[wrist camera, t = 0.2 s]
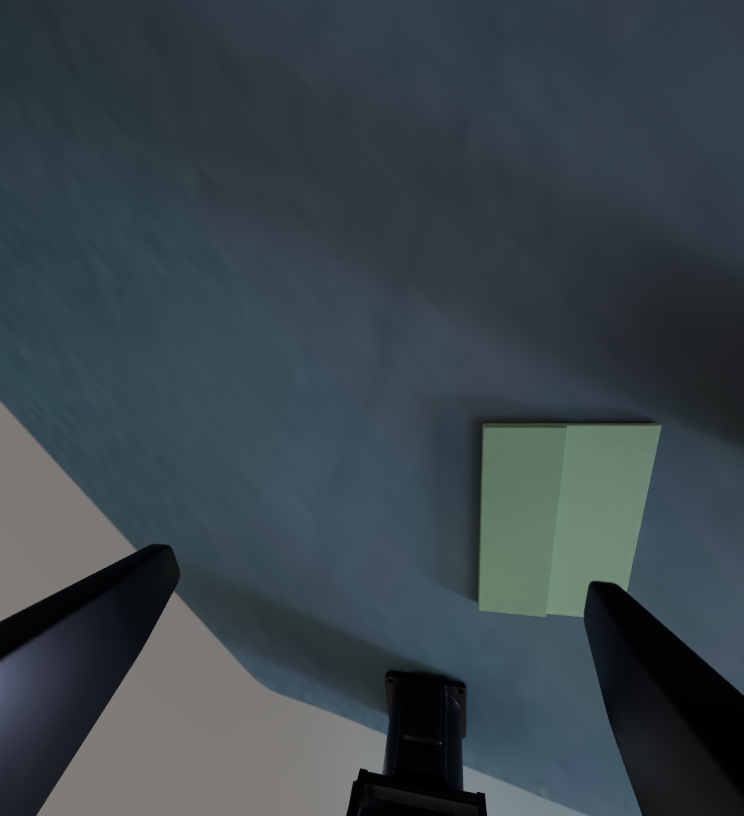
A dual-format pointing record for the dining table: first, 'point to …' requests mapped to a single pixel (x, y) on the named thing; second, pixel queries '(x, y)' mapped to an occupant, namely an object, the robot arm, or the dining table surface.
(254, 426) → the dining table surface
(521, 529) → the cloth
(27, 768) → the robot arm
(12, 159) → the dining table surface
